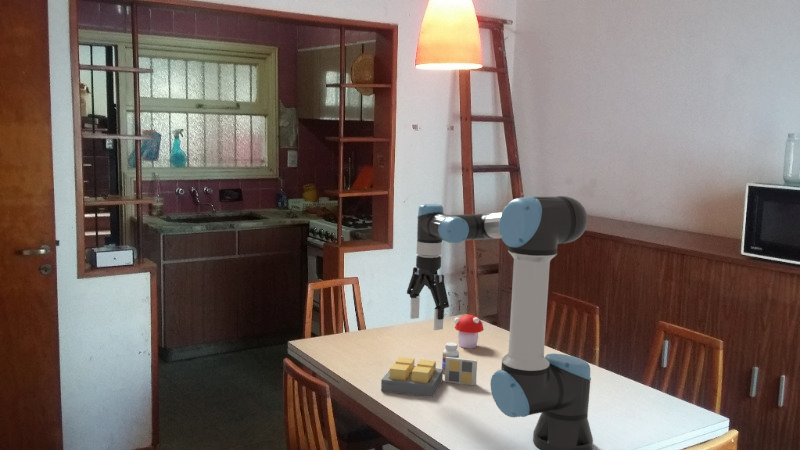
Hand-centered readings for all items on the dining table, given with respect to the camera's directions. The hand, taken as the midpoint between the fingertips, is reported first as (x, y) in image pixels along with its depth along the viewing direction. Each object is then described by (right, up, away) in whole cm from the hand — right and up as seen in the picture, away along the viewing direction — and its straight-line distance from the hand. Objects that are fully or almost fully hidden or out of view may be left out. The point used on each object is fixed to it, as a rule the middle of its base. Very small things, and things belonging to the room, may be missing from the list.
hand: (426, 323), depth 220 cm
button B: (-8, -18, +4) cm, 20 cm away
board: (-4, -20, +6) cm, 22 cm away
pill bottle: (+9, -19, +20) cm, 29 cm away
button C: (0, -17, +9) cm, 19 cm away
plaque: (+11, -20, +10) cm, 25 cm away
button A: (-1, -18, +2) cm, 18 cm away
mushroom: (+18, -15, +50) cm, 55 cm away
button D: (-7, -17, +10) cm, 21 cm away
